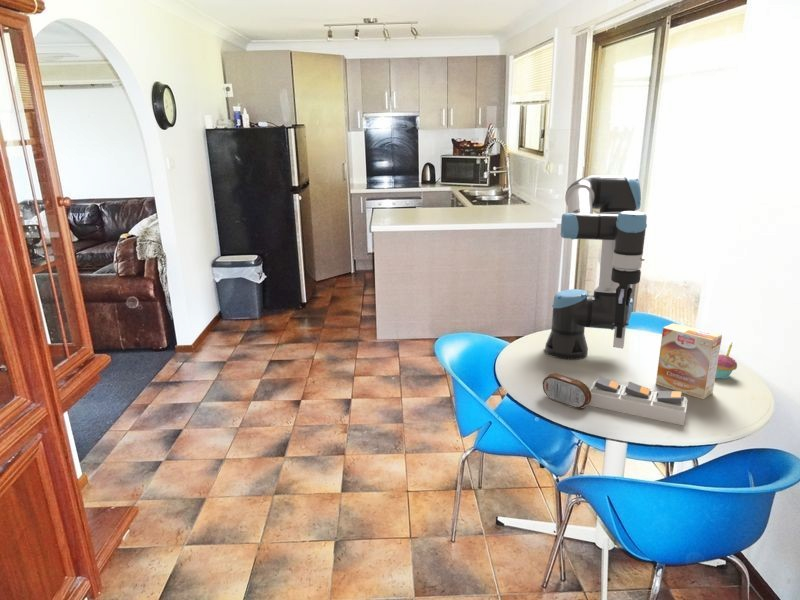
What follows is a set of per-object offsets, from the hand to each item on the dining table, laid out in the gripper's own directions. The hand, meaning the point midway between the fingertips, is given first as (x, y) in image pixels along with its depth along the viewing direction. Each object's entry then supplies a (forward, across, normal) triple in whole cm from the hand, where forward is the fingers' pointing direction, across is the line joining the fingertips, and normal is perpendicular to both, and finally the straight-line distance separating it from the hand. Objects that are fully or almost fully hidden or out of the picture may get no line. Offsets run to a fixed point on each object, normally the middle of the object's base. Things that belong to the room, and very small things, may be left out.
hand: (618, 346), depth 160 cm
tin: (+19, -6, +12) cm, 23 cm away
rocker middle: (+13, 0, -6) cm, 14 cm away
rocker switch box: (+18, 0, -5) cm, 19 cm away
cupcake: (+19, +37, -28) cm, 50 cm away
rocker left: (+13, 0, +2) cm, 13 cm away
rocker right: (+13, 0, -15) cm, 20 cm away
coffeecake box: (+19, +21, -18) cm, 33 cm away
